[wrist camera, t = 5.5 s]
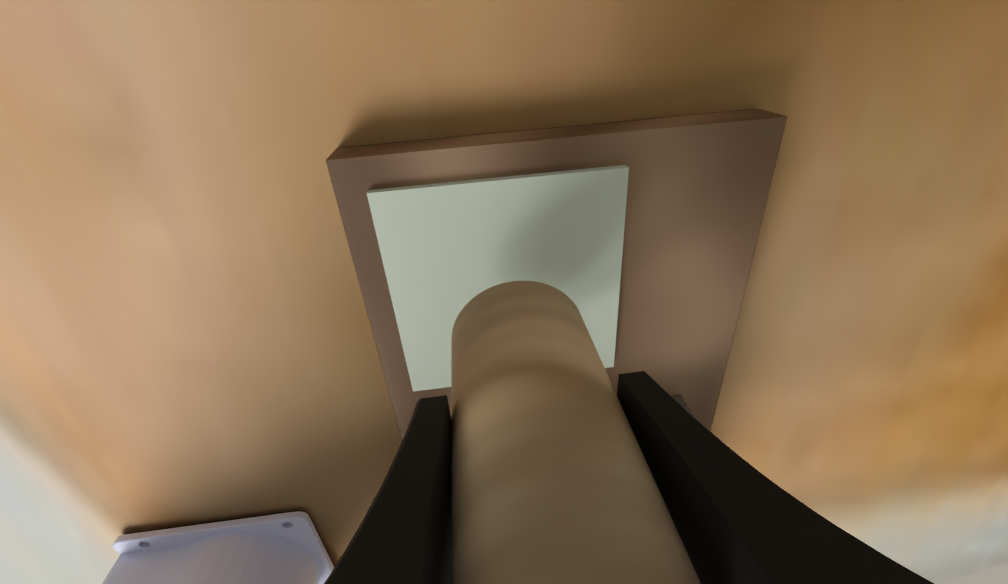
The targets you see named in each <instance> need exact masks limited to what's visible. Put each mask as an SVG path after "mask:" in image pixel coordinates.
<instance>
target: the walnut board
mask: <svg viewBox="0 0 1008 584" xmlns="http://www.w3.org/2000/svg"><path fill="white" fill-rule="evenodd" d="M786 119H787V116H783V115H779V114H776V113H772V112H768V111H765V110H761V109H751V110H740V111H730V112H719V113H708V114H697V115H687V116H676V117H665V118H655V119H644V120H633V121H622V122H612V123H601V124H590V125H579V126H569V127H558V128H547V129H536V130H526V131H515V132H504V133H493V134H483V135H472V136H461V137H450V138H440V139H429V140H418V141H408V142H397V143H386V144H375V145H365V146H354V147H343V148H337V149H336V150H335V151H334V152H333V153H332V154H331V155H330V156H329V157H328V158H327V159H326V163H327V167H328V170H329V174H330V178H331V181H332V185H333V189H334V192H335V196H336V200H337V203H338V207H339V211H340V214H341V218H342V222H343V225H344V229H345V233H346V236H347V240H348V244H349V247H350V251H351V255H352V258H353V262H354V266H355V269H356V273H357V277H358V280H359V284H360V288H361V291H362V295H363V299H364V302H365V306H366V310H367V313H368V317H369V321H370V325H371V328H372V332H373V336H374V339H375V343H376V347H377V350H378V354H379V358H380V361H381V365H382V369H383V372H384V376H385V380H386V383H387V387H388V391H389V394H390V398H391V402H392V405H393V409H394V413H395V416H396V420H397V424H398V427H399V431H400V435H401V438H402V441H403V438H404V436H405V433H406V431H407V428H408V426H409V423H410V421H411V418H412V415H413V412H414V409H415V406H416V403H417V402H418V401H419V400H420V399H421V398H428V397H436V396H444V395H447V398H448V404H449V409H450V415H451V387H446V388H438V389H430V390H421V391H413V389H412V385H411V381H410V377H409V372H408V368H407V364H406V359H405V355H404V351H403V347H402V342H401V338H400V334H399V330H398V325H397V321H396V317H395V313H394V308H393V304H392V300H391V295H390V291H389V287H388V283H387V278H386V274H385V270H384V266H383V261H382V257H381V253H380V249H379V244H378V240H377V236H376V231H375V227H374V223H373V219H372V214H371V210H370V206H369V202H368V197H367V191H368V190H375V189H385V188H395V187H405V186H415V185H426V184H436V183H446V182H456V181H466V180H476V179H487V178H497V177H507V176H517V175H527V174H538V173H548V172H558V171H568V170H578V169H588V168H599V167H609V166H619V165H627V166H628V167H629V174H628V187H627V201H626V214H625V227H624V240H623V253H622V266H621V279H620V292H619V305H618V319H617V332H616V345H615V358H614V367H609V368H605V370H606V372H607V374H608V377H609V379H610V381H611V383H612V386H613V388H614V390H615V392H616V395H617V388H618V376H619V374H624V373H632V372H640V371H644V372H646V373H647V374H648V375H649V376H650V377H651V378H652V379H653V380H654V381H656V382H657V383H658V384H659V385H660V386H661V387H662V388H663V389H664V390H665V391H666V392H667V393H668V394H669V395H678V394H681V396H682V397H683V399H684V401H685V402H686V404H687V405H688V407H689V409H690V410H691V412H692V413H693V415H694V417H695V418H696V420H698V421H699V422H700V423H701V424H702V425H703V426H704V427H706V428H707V429H708V430H709V431H710V430H711V426H712V422H713V418H714V414H715V409H716V405H717V401H718V397H719V393H720V389H721V385H722V381H723V377H724V373H725V369H726V365H727V360H728V356H729V352H730V348H731V344H732V340H733V336H734V332H735V328H736V324H737V320H738V316H739V311H740V307H741V303H742V299H743V295H744V291H745V287H746V283H747V279H748V275H749V271H750V267H751V262H752V258H753V254H754V250H755V246H756V242H757V238H758V234H759V230H760V226H761V222H762V217H763V213H764V209H765V205H766V201H767V197H768V193H769V189H770V185H771V181H772V177H773V173H774V168H775V164H776V160H777V156H778V152H779V148H780V144H781V140H782V136H783V132H784V128H785V124H786Z"/></svg>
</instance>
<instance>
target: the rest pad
mask: <svg viewBox="0 0 1008 584" xmlns="http://www.w3.org/2000/svg"><path fill="white" fill-rule="evenodd" d="M628 174H629V167H628V166H627V165H619V166H609V167H599V168H588V169H578V170H568V171H558V172H548V173H538V174H527V175H517V176H507V177H497V178H487V179H476V180H466V181H456V182H446V183H436V184H426V185H415V186H405V187H395V188H385V189H375V190H368V191H367V197H368V202H369V206H370V210H371V214H372V219H373V223H374V227H375V231H376V236H377V240H378V244H379V249H380V253H381V257H382V261H383V266H384V270H385V274H386V278H387V283H388V287H389V291H390V295H391V300H392V304H393V308H394V313H395V317H396V321H397V325H398V330H399V334H400V338H401V342H402V347H403V351H404V355H405V359H406V364H407V368H408V372H409V377H410V381H411V385H412V389H413V391H421V390H430V389H438V388H446V387H451V337H452V330H453V326H454V323H455V320H456V318H457V316H458V315H459V313H460V311H461V310H462V309H463V307H464V306H465V305H466V304H467V303H468V302H469V301H470V300H471V299H472V298H474V297H475V296H476V295H478V294H479V293H481V292H483V291H484V290H486V289H488V288H490V287H493V286H495V285H498V284H501V283H506V282H511V281H535V282H540V283H544V284H548V285H550V286H553V287H555V288H557V289H558V290H560V291H562V292H563V293H565V294H566V295H567V296H568V297H569V298H570V299H571V300H572V301H573V302H574V303H575V305H576V306H577V308H578V310H579V312H580V314H581V316H582V318H583V321H584V323H585V325H586V327H587V330H588V332H589V334H590V336H591V339H592V341H593V343H594V345H595V348H596V350H597V352H598V354H599V357H600V359H601V361H602V363H603V365H604V368H609V367H614V358H615V345H616V332H617V319H618V305H619V292H620V279H621V266H622V253H623V240H624V227H625V214H626V201H627V187H628Z"/></svg>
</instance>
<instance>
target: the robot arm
mask: <svg viewBox="0 0 1008 584" xmlns="http://www.w3.org/2000/svg"><path fill="white" fill-rule="evenodd" d="M617 397H618V399H619V401H620V403H621V406H622V408H623V410H624V412H625V415H626V417H627V419H628V421H629V424H630V426H631V428H632V430H633V433H634V435H635V437H636V439H637V442H638V444H639V446H640V448H641V450H642V453H643V455H644V457H645V459H646V462H647V464H648V466H649V468H650V471H651V473H652V475H653V477H654V480H655V482H656V484H657V486H658V489H659V491H660V493H661V495H662V497H663V500H664V502H665V504H666V506H667V509H668V511H669V513H670V515H671V518H672V520H673V522H674V524H675V527H676V529H677V531H678V533H679V536H680V538H681V540H682V542H683V544H684V547H685V549H686V551H687V553H688V556H689V558H690V560H691V562H692V565H693V567H694V569H695V571H696V574H697V576H698V578H699V580H700V582H701V584H934V583H932V582H930V581H928V580H927V579H925V578H923V577H921V576H919V575H918V574H916V573H914V572H912V571H910V570H909V569H907V568H905V567H903V566H902V565H900V564H898V563H897V562H895V561H893V560H891V559H890V558H888V557H886V556H885V555H883V554H881V553H880V552H878V551H876V550H875V549H873V548H872V547H870V546H868V545H867V544H865V543H863V542H862V541H860V540H859V539H857V538H855V537H854V536H852V535H850V534H849V533H847V532H846V531H844V530H842V529H841V528H839V527H837V526H836V525H834V524H833V523H831V522H830V521H828V520H827V519H825V518H824V517H822V516H820V515H819V514H817V513H816V512H814V511H813V510H812V509H810V508H809V507H807V506H806V505H804V504H803V503H801V502H800V501H799V500H797V499H796V498H794V497H793V496H791V495H790V494H789V493H787V492H786V491H784V490H783V489H781V488H780V487H779V486H777V485H776V484H775V483H773V482H772V481H771V480H769V479H768V478H767V477H765V476H764V475H763V474H761V473H760V472H759V471H757V470H756V469H755V468H754V467H752V466H751V465H750V464H749V463H747V462H746V461H745V460H744V459H742V458H741V457H740V456H739V455H737V454H736V453H735V452H734V451H732V450H731V449H730V448H729V447H728V446H726V445H725V444H724V443H723V442H722V441H721V440H719V439H718V438H717V437H716V436H715V435H714V434H712V433H711V432H710V431H709V430H708V429H707V428H706V427H704V426H703V425H702V424H701V423H700V422H699V421H698V420H696V419H695V418H694V417H693V416H692V415H691V414H690V413H689V412H688V411H686V410H685V409H684V408H683V407H682V406H681V405H680V404H679V403H678V402H677V401H676V400H675V399H674V398H672V397H671V396H670V395H669V394H668V393H667V392H666V391H665V390H664V389H663V388H662V387H661V386H660V385H659V384H658V383H657V382H656V381H654V380H653V379H652V378H651V377H650V376H649V375H648V374H647V373H646V372H644V371H640V372H632V373H624V374H619V376H618V388H617ZM451 460H452V420H451V415H450V409H449V404H448V398H447V395H444V396H436V397H428V398H421V399H420V400H419V401H418V402H417V403H416V406H415V409H414V412H413V415H412V418H411V421H410V423H409V426H408V428H407V431H406V433H405V436H404V438H403V441H402V443H401V445H400V448H399V450H398V452H397V454H396V456H395V458H394V461H393V463H392V465H391V467H390V469H389V471H388V473H387V475H386V478H385V480H384V482H383V484H382V486H381V488H380V490H379V491H378V493H377V495H376V497H375V499H374V501H373V503H372V504H371V506H370V508H369V510H368V512H367V514H366V516H365V517H364V519H363V521H362V523H361V525H360V526H359V528H358V530H357V531H356V533H355V535H354V537H353V538H352V540H351V542H350V543H349V545H348V547H347V548H346V550H345V552H344V553H343V555H342V556H341V558H340V559H339V561H338V563H337V564H336V566H335V567H334V566H333V564H332V562H331V560H330V558H329V556H328V553H327V551H326V549H325V547H324V545H323V543H322V541H321V539H320V537H319V535H318V533H317V531H316V529H315V527H314V525H313V523H312V521H311V519H310V517H309V515H308V514H307V513H305V512H302V511H296V512H288V513H281V514H273V515H266V516H258V517H251V518H244V519H236V520H229V521H221V522H214V523H206V524H199V525H191V526H184V527H177V528H169V529H162V530H154V531H147V532H139V533H132V534H125V535H121V536H119V537H117V539H116V540H115V542H114V543H113V547H114V549H115V550H116V551H117V552H118V553H119V554H120V556H119V558H118V559H117V561H116V563H115V564H114V566H113V567H112V569H111V571H110V572H109V574H108V575H107V577H106V579H105V580H104V582H103V584H451Z"/></svg>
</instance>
